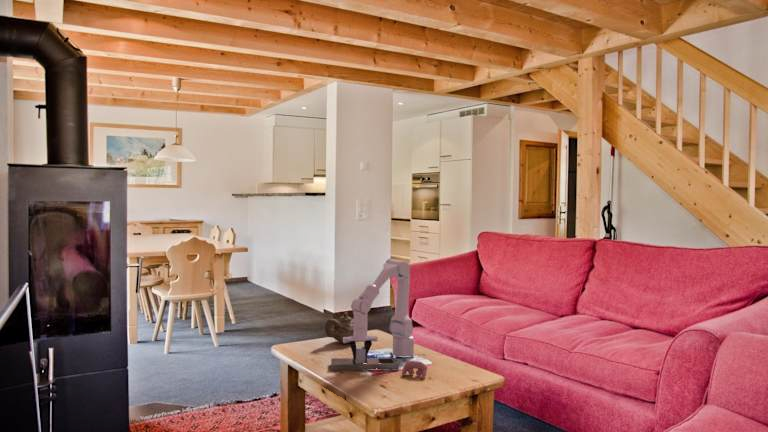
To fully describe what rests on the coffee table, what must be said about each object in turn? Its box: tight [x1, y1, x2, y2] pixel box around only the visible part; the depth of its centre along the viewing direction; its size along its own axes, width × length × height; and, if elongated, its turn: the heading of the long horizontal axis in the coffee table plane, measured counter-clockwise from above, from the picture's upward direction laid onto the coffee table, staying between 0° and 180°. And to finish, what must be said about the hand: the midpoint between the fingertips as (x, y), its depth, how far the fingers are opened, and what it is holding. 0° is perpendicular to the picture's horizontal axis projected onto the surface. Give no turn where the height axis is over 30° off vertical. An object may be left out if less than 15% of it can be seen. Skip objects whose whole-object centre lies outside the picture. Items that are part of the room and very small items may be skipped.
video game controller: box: [401, 360, 428, 380], centre depth 225 cm, size 10×5×7 cm, turn 72°
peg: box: [354, 345, 366, 364], centre depth 234 cm, size 4×4×6 cm
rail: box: [330, 357, 400, 372], centre depth 234 cm, size 28×8×2 cm, turn 95°
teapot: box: [324, 311, 354, 345], centre depth 268 cm, size 21×12×15 cm, turn 130°
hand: (359, 358), depth 234 cm, fingers closed on peg, 4 cm apart
